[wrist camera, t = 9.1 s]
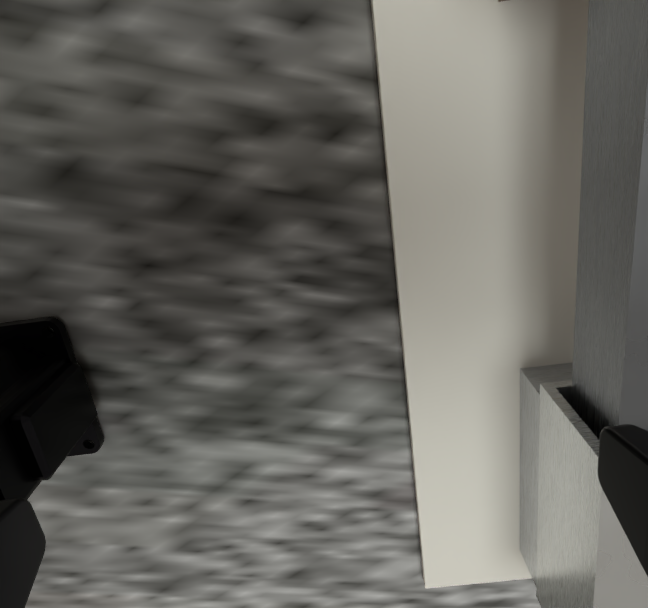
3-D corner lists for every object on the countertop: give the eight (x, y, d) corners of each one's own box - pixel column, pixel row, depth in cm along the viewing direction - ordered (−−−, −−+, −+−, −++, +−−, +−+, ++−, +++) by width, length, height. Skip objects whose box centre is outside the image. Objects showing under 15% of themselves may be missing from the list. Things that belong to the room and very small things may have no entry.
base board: (423, 578, 26) (425, 588, 25) (350, -227, 15) (351, -240, 14) (702, 551, 25) (711, 560, 25) (852, -318, 14) (874, -336, 13)
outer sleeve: (519, 556, 25) (585, 709, 18) (519, 357, 21) (603, 464, 14) (615, 547, 24) (715, 698, 18) (633, 344, 20) (769, 446, 14)
